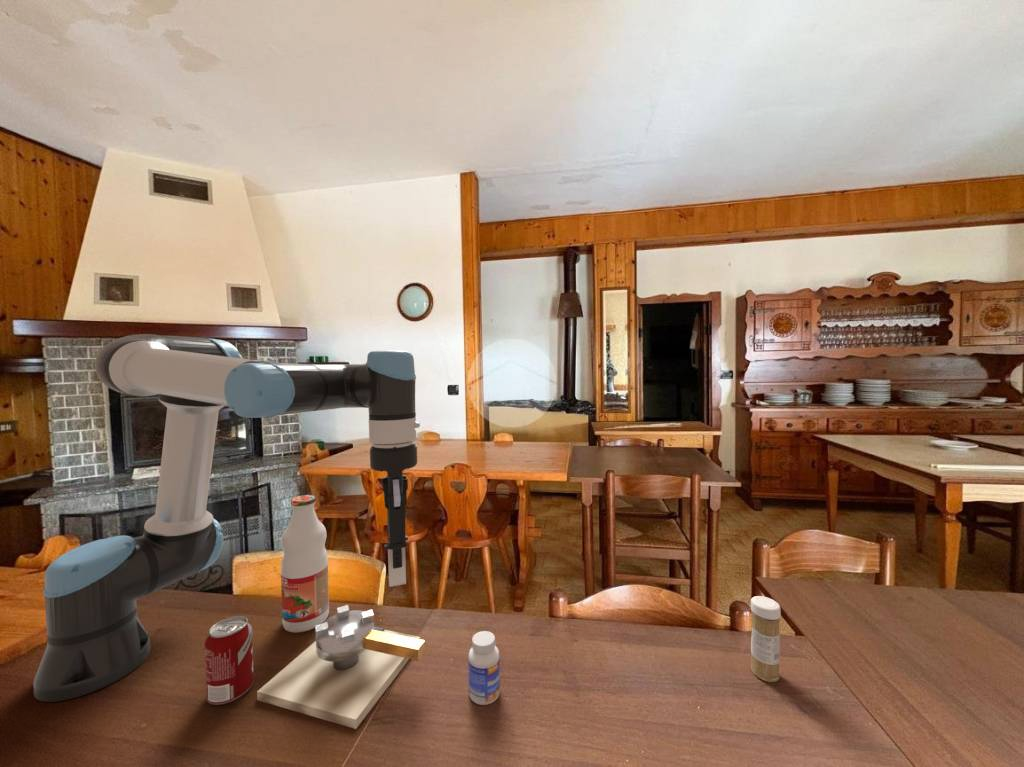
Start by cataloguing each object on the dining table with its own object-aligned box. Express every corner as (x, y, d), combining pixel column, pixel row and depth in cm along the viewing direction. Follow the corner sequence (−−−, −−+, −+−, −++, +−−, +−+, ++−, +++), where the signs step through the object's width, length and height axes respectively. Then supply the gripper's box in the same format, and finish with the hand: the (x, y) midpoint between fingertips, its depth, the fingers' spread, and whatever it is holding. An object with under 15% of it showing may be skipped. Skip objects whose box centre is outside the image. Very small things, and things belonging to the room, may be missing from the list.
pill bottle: (492, 710, 65) (492, 652, 65) (463, 701, 67) (462, 645, 66) (504, 685, 70) (504, 632, 70) (477, 677, 72) (476, 625, 72)
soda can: (229, 711, 65) (227, 640, 65) (196, 705, 66) (193, 635, 66) (263, 680, 72) (261, 615, 71) (232, 675, 73) (230, 611, 73)
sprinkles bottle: (762, 662, 75) (762, 592, 75) (786, 679, 71) (786, 606, 70) (744, 668, 73) (745, 597, 73) (767, 687, 69) (768, 611, 69)
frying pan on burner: (303, 655, 71) (302, 632, 70) (342, 621, 80) (341, 601, 80) (406, 680, 65) (405, 655, 65) (435, 640, 74) (434, 618, 74)
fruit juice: (336, 617, 90) (334, 496, 89) (293, 640, 82) (289, 508, 82) (317, 603, 96) (314, 489, 95) (275, 622, 88) (271, 499, 88)
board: (257, 700, 67) (256, 671, 67) (339, 627, 87) (338, 604, 86) (356, 729, 62) (355, 697, 62) (420, 644, 81) (420, 620, 81)
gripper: (421, 448, 61) (425, 599, 61) (412, 436, 73) (416, 561, 74) (369, 452, 58) (374, 609, 59) (369, 439, 70) (373, 569, 71)
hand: (397, 583), depth 66 cm, fingers closed
